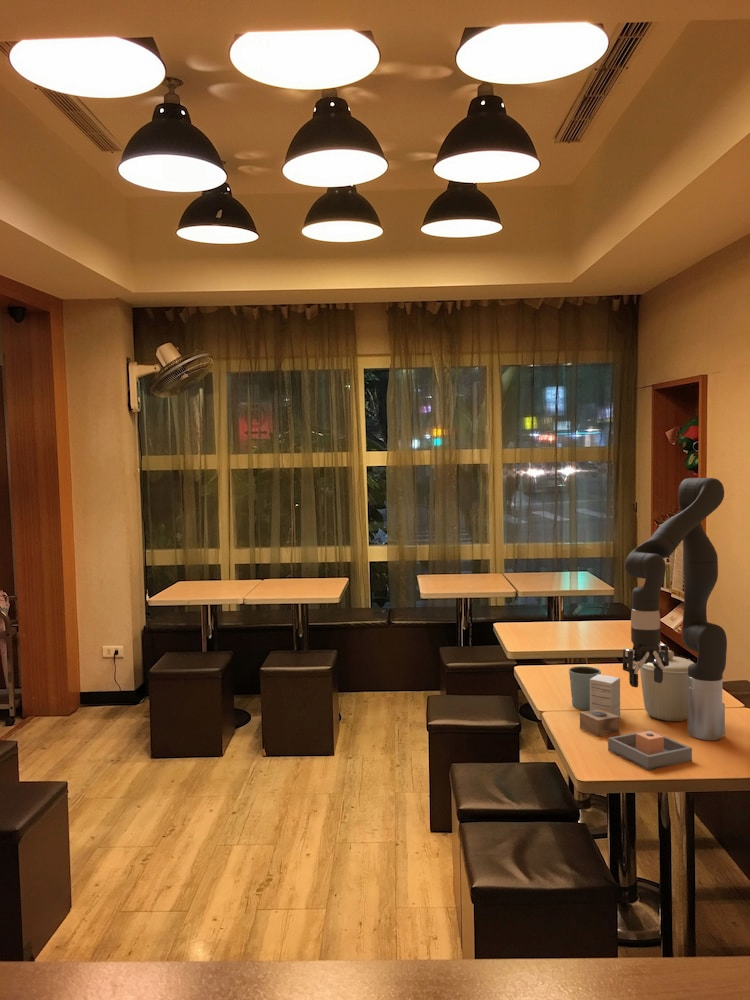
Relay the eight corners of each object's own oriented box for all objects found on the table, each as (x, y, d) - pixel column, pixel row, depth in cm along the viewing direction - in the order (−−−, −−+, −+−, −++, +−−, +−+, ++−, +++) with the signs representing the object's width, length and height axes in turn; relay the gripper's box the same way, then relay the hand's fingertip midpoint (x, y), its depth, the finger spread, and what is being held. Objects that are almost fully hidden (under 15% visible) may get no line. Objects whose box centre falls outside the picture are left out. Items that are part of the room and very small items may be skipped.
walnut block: (600, 724, 217) (600, 708, 217) (619, 733, 209) (619, 716, 209) (579, 728, 214) (579, 711, 213) (597, 737, 206) (597, 720, 206)
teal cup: (604, 710, 229) (604, 674, 229) (573, 710, 229) (573, 674, 229) (595, 701, 239) (595, 665, 239) (565, 701, 239) (565, 666, 239)
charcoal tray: (649, 742, 202) (649, 729, 201) (691, 761, 188) (691, 748, 188) (608, 750, 196) (608, 737, 196) (648, 770, 182) (648, 757, 182)
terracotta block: (650, 748, 195) (650, 730, 195) (663, 755, 190) (663, 736, 190) (635, 751, 193) (635, 732, 193) (649, 758, 189) (649, 739, 188)
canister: (681, 730, 211) (681, 660, 210) (626, 715, 224) (626, 649, 224) (709, 717, 222) (710, 650, 221) (655, 703, 236) (655, 640, 235)
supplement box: (598, 712, 228) (598, 673, 227) (620, 717, 223) (620, 677, 222) (588, 718, 222) (588, 678, 221) (612, 723, 217) (612, 682, 217)
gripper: (654, 620, 199) (655, 677, 199) (615, 625, 193) (616, 684, 194) (675, 625, 192) (676, 684, 192) (635, 631, 186) (636, 691, 187)
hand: (646, 684), depth 193 cm, fingers open, 8 cm apart
